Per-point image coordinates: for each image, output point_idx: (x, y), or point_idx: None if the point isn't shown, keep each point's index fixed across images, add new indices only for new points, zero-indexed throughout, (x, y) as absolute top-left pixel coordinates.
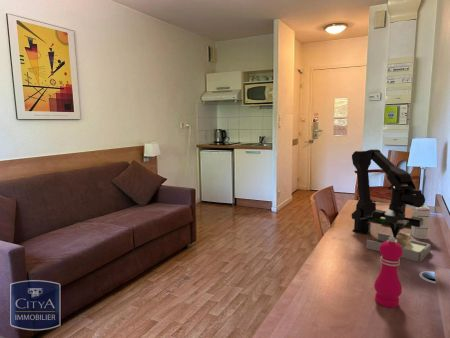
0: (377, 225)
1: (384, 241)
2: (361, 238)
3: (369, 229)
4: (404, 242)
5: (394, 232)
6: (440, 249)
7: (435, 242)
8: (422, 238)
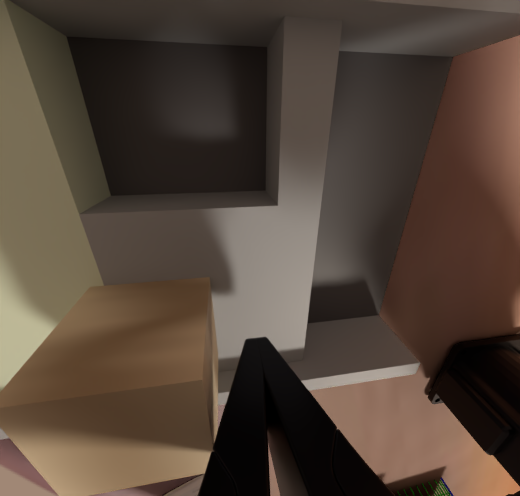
0: (399, 467)
1: (332, 318)
2: (481, 262)
3: (454, 397)
4: (115, 304)
5: (272, 397)
6: (11, 447)
7: (109, 493)
8: (180, 488)
